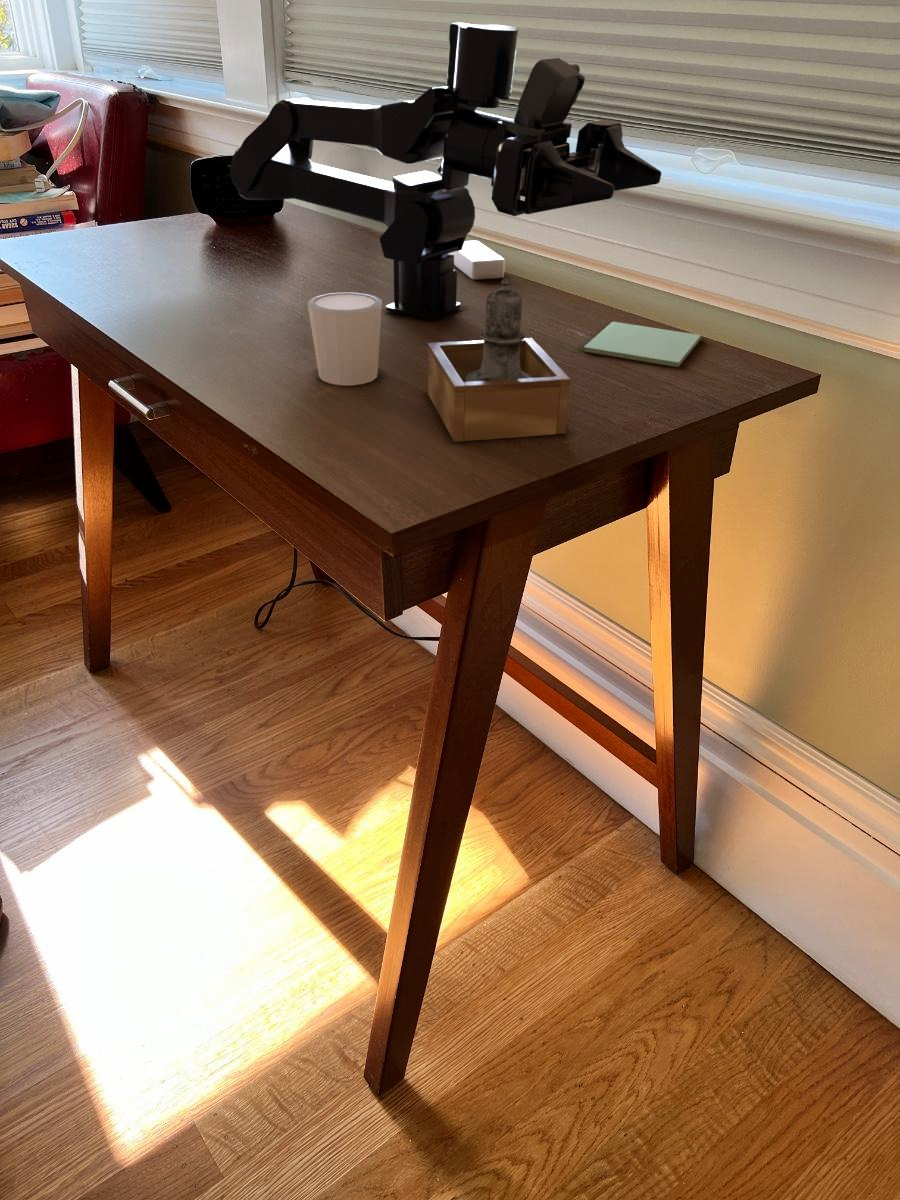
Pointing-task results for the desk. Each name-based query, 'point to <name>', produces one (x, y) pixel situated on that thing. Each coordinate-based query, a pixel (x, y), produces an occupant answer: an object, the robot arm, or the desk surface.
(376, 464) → the desk surface
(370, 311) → the white tapered cup
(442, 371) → the open wooden box
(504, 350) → the salt shaker
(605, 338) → the mat
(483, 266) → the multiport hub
